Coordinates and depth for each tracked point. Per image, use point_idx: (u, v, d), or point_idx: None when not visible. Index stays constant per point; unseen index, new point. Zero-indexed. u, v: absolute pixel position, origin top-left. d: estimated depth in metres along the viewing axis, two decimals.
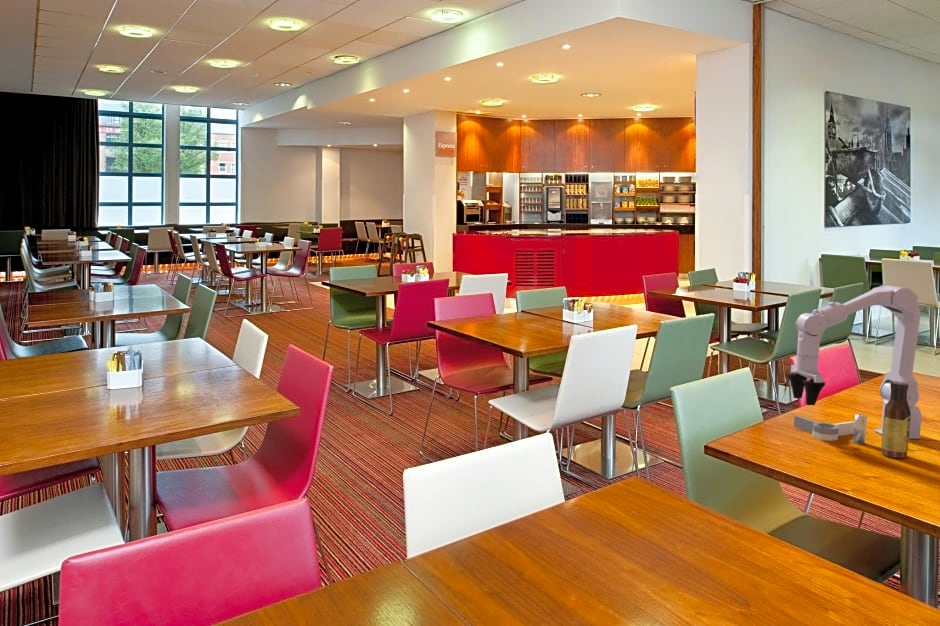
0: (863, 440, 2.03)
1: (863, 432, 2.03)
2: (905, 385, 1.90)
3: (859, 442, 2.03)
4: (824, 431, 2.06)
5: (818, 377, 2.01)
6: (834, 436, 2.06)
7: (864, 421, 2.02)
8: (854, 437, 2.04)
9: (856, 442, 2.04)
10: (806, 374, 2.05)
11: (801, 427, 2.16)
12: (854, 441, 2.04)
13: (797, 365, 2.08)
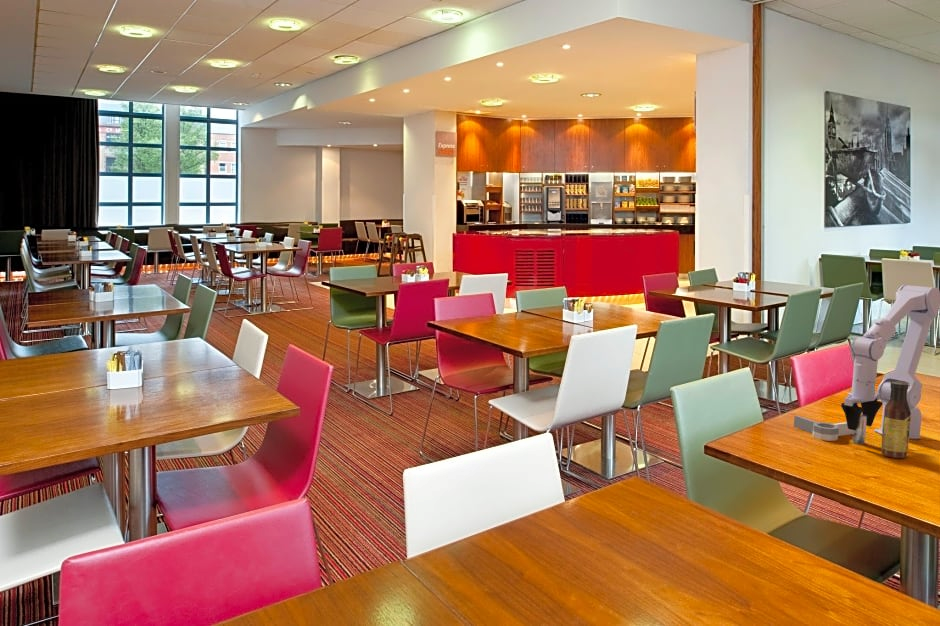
0: (863, 440, 2.03)
1: (863, 432, 2.03)
2: (905, 385, 1.90)
3: (859, 442, 2.03)
4: (824, 431, 2.06)
5: (847, 400, 1.99)
6: (834, 436, 2.06)
7: (864, 421, 2.02)
8: (854, 437, 2.04)
9: (856, 442, 2.04)
10: None
11: (801, 427, 2.16)
12: (854, 441, 2.04)
13: None
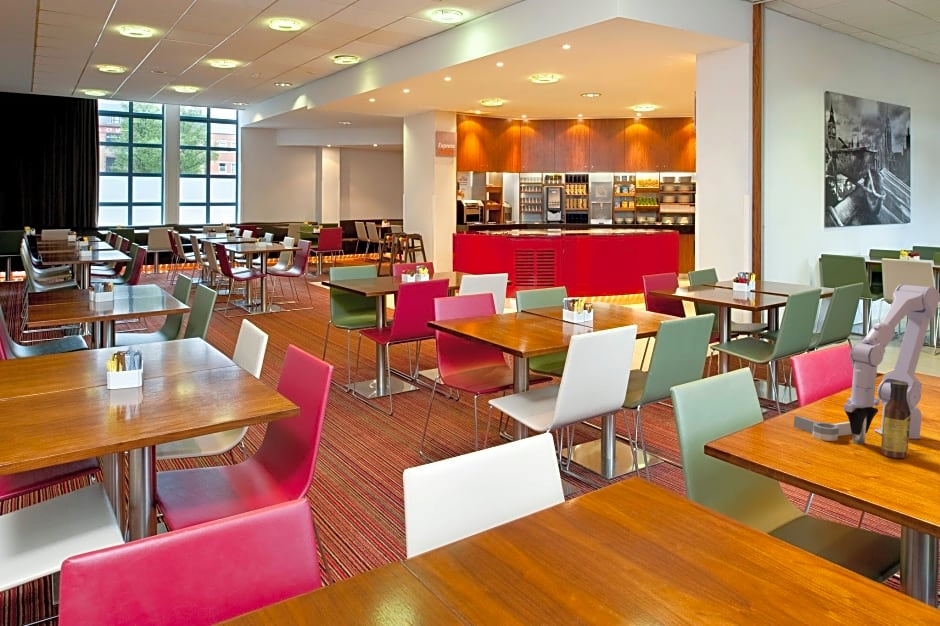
0: (863, 440, 2.03)
1: (863, 432, 2.03)
2: (905, 385, 1.90)
3: (859, 442, 2.03)
4: (824, 431, 2.06)
5: (846, 406, 1.99)
6: (834, 436, 2.06)
7: (864, 421, 2.02)
8: (854, 437, 2.04)
9: (856, 442, 2.04)
10: (848, 402, 2.03)
11: (801, 427, 2.16)
12: (854, 441, 2.04)
13: None
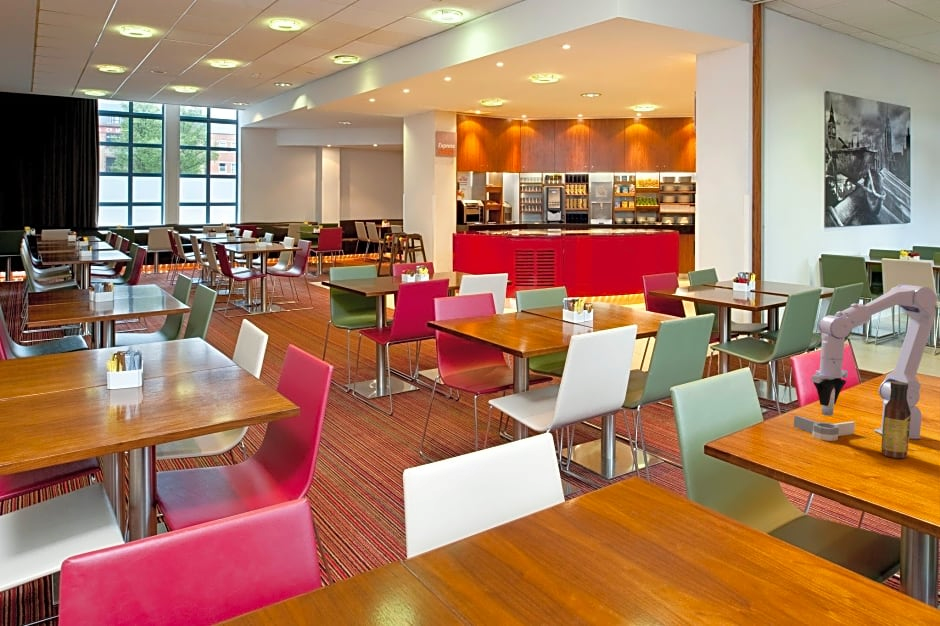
0: (832, 411, 2.07)
1: (832, 403, 2.06)
2: (905, 385, 1.90)
3: (828, 413, 2.07)
4: (824, 431, 2.06)
5: (814, 377, 2.03)
6: (834, 436, 2.06)
7: (833, 392, 2.06)
8: (823, 408, 2.08)
9: (825, 413, 2.07)
10: None
11: (801, 427, 2.16)
12: (823, 413, 2.08)
13: None
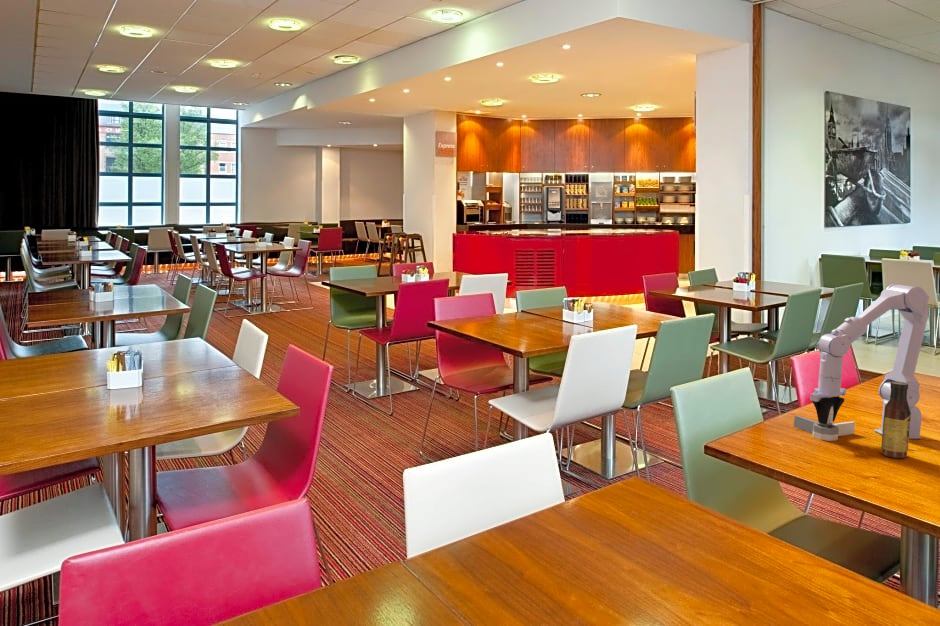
0: None
1: (830, 421, 2.07)
2: (905, 385, 1.90)
3: None
4: (824, 431, 2.06)
5: (812, 395, 2.04)
6: (834, 436, 2.06)
7: (831, 411, 2.07)
8: (821, 426, 2.08)
9: None
10: None
11: (801, 427, 2.16)
12: None
13: None
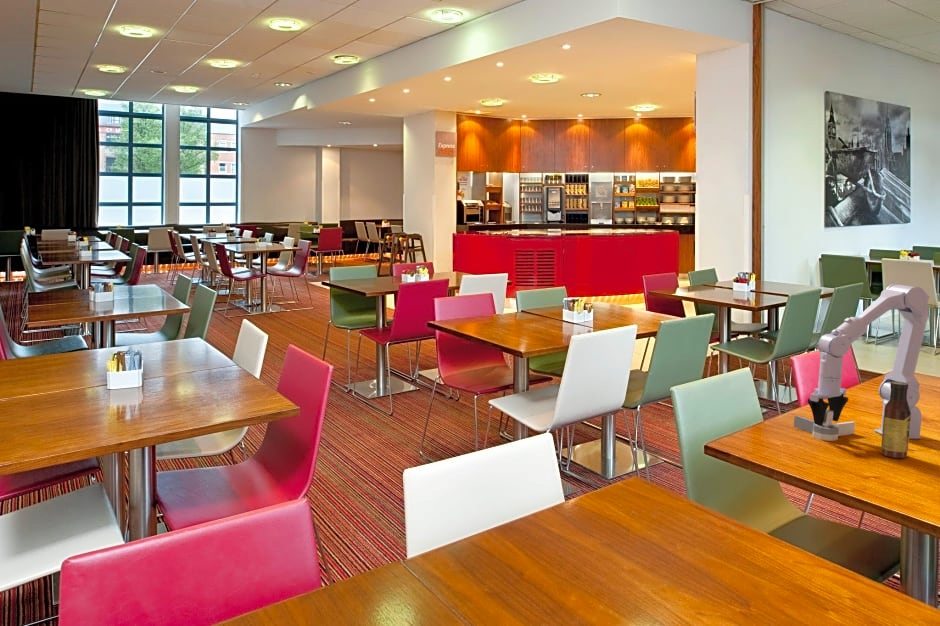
0: None
1: (830, 427, 2.07)
2: (905, 385, 1.90)
3: None
4: (824, 431, 2.06)
5: (812, 395, 2.04)
6: (834, 436, 2.06)
7: (831, 416, 2.07)
8: None
9: None
10: None
11: (801, 427, 2.16)
12: None
13: None
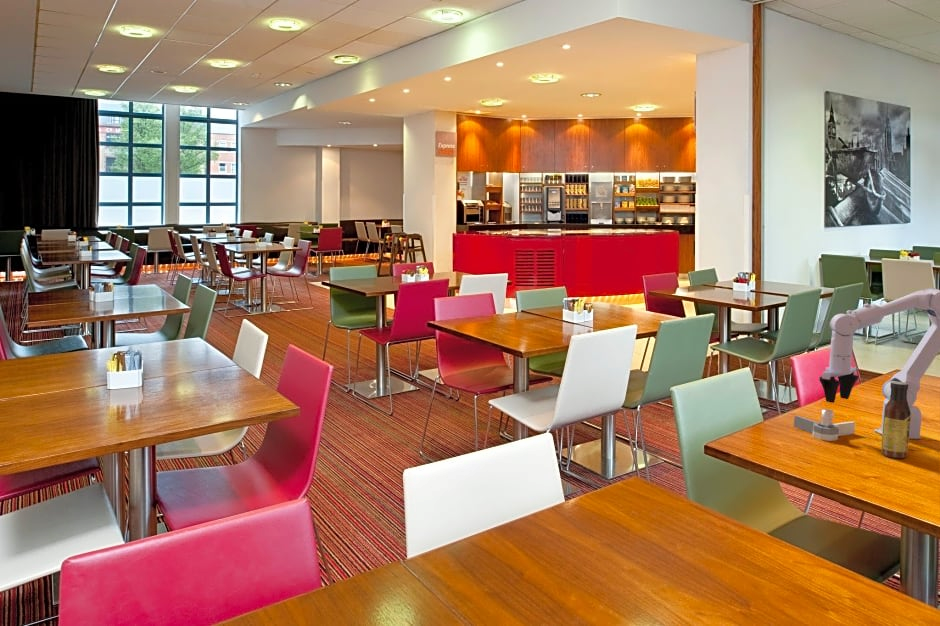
0: None
1: (830, 427, 2.07)
2: (905, 385, 1.90)
3: None
4: (824, 431, 2.06)
5: (824, 373, 2.09)
6: (834, 436, 2.06)
7: (831, 416, 2.07)
8: None
9: None
10: (826, 371, 2.12)
11: (801, 427, 2.16)
12: None
13: None
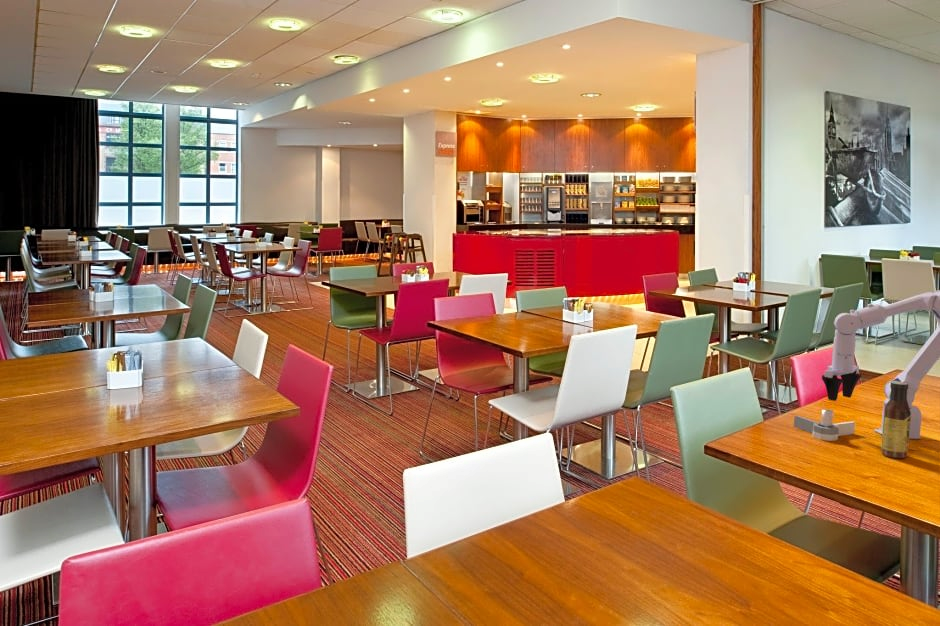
0: None
1: (830, 427, 2.07)
2: (905, 385, 1.90)
3: None
4: (824, 431, 2.06)
5: (827, 372, 2.11)
6: (834, 436, 2.06)
7: (831, 416, 2.07)
8: None
9: None
10: None
11: (801, 427, 2.16)
12: None
13: None
